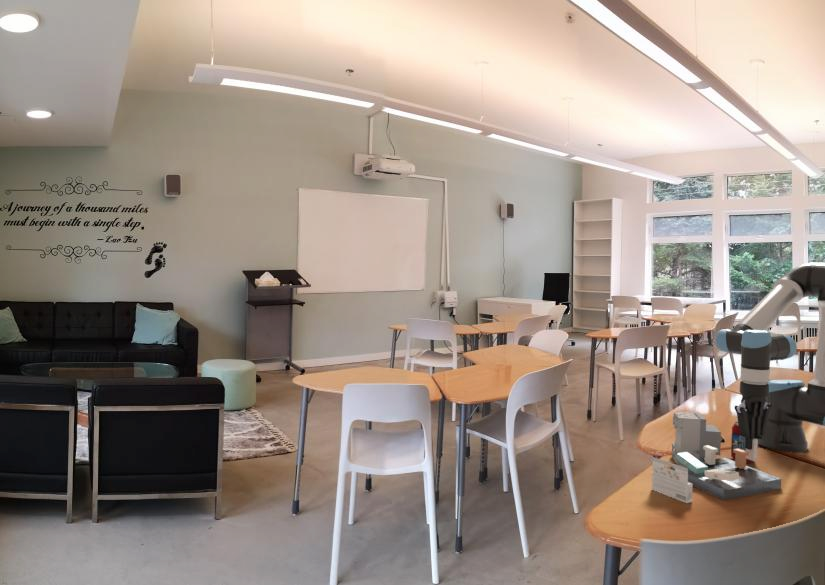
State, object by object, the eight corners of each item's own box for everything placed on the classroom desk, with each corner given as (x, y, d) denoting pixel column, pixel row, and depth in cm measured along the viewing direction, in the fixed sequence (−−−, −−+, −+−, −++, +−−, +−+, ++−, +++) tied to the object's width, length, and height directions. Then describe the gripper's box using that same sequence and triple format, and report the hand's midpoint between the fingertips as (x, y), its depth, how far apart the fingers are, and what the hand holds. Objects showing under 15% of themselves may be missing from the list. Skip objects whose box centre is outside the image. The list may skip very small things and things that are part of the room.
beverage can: (732, 461, 189) (733, 425, 188) (729, 455, 195) (731, 420, 195) (756, 464, 187) (757, 427, 186) (752, 458, 193) (754, 422, 192)
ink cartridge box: (656, 488, 168) (657, 455, 167) (692, 502, 158) (693, 466, 158) (651, 490, 166) (651, 456, 166) (687, 504, 157) (688, 468, 156)
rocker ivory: (716, 475, 168) (715, 468, 168) (740, 478, 161) (739, 471, 161) (704, 477, 166) (703, 470, 167) (727, 481, 159) (726, 474, 159)
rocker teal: (686, 456, 178) (688, 451, 178) (707, 471, 171) (709, 466, 171) (674, 458, 177) (676, 453, 176) (695, 474, 169) (696, 468, 169)
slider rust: (737, 464, 177) (738, 448, 176) (748, 468, 173) (748, 452, 173) (732, 465, 176) (733, 449, 176) (743, 469, 173) (743, 452, 172)
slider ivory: (707, 461, 180) (708, 445, 179) (717, 465, 176) (718, 448, 176) (702, 461, 179) (703, 445, 179) (712, 465, 176) (713, 449, 175)
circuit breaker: (725, 467, 184) (727, 420, 183) (677, 464, 187) (678, 417, 186) (718, 459, 192) (719, 414, 191) (671, 456, 194) (673, 411, 194)
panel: (723, 466, 185) (724, 456, 185) (783, 489, 166) (783, 478, 166) (669, 475, 177) (670, 465, 177) (725, 501, 159) (726, 489, 158)
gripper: (758, 378, 181) (755, 452, 182) (727, 380, 176) (724, 457, 177) (781, 382, 174) (778, 460, 175) (749, 386, 169) (746, 466, 170)
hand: (751, 459), depth 176 cm, fingers closed
